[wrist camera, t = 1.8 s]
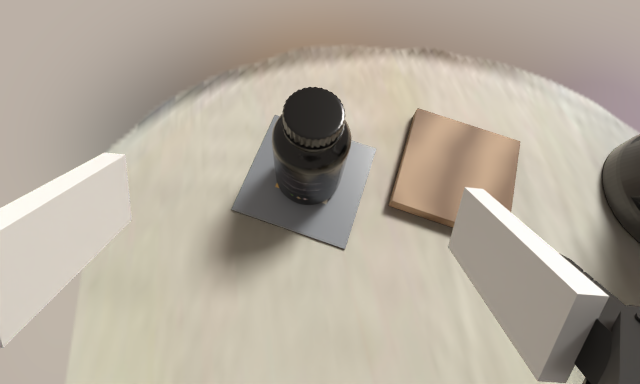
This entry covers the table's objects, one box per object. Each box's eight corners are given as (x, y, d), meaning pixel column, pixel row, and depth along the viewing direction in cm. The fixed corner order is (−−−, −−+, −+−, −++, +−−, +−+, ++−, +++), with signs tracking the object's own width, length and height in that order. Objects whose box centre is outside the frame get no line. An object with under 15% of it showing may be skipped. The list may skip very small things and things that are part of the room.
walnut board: (512, 148, 42) (520, 141, 41) (499, 243, 38) (507, 239, 36) (413, 115, 43) (417, 108, 41) (388, 205, 38) (392, 200, 37)
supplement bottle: (286, 141, 40) (286, 64, 29) (346, 158, 40) (369, 88, 29) (266, 196, 37) (256, 135, 26) (330, 216, 37) (347, 162, 26)
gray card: (375, 149, 41) (376, 148, 40) (344, 249, 36) (345, 248, 36) (275, 115, 41) (275, 114, 41) (231, 209, 37) (231, 209, 36)
